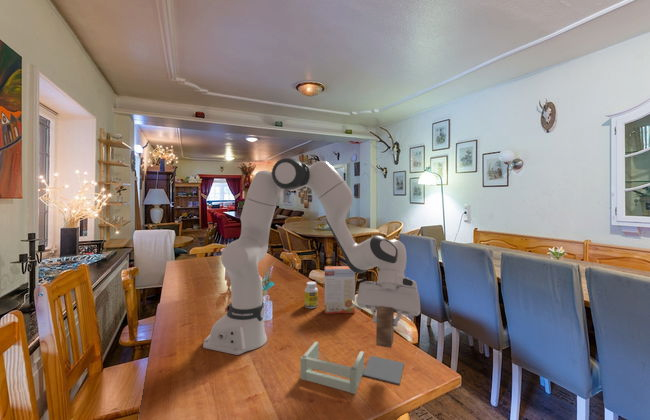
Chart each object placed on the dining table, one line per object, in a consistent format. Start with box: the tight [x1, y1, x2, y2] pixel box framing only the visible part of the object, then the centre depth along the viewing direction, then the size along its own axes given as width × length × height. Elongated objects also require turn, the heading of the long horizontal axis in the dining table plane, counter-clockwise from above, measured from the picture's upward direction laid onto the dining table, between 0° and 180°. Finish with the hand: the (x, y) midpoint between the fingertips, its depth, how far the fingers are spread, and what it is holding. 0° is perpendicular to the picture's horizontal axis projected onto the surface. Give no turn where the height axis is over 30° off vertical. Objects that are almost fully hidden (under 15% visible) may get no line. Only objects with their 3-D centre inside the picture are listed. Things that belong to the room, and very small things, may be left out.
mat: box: [362, 355, 405, 386], centre depth 90 cm, size 11×11×1 cm
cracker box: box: [324, 265, 356, 314], centre depth 134 cm, size 14×6×21 cm, turn 92°
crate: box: [300, 341, 365, 395], centre depth 87 cm, size 17×10×6 cm, turn 68°
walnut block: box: [375, 306, 395, 349], centre depth 89 cm, size 4×4×11 cm
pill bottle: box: [304, 280, 319, 309], centre depth 140 cm, size 6×6×12 cm
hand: (384, 324), depth 89 cm, fingers closed on walnut block, 4 cm apart
